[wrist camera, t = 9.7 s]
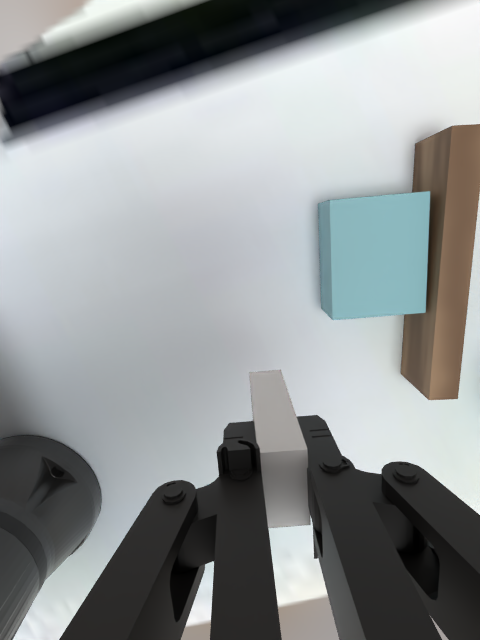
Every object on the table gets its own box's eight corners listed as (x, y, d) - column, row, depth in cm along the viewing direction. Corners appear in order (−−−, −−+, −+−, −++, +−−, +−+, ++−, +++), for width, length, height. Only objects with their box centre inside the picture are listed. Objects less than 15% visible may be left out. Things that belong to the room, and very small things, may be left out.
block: (321, 307, 37) (332, 320, 32) (317, 203, 35) (329, 200, 30) (401, 301, 37) (425, 312, 32) (403, 196, 34) (430, 191, 29)
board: (400, 373, 38) (428, 400, 32) (415, 143, 33) (452, 125, 27) (425, 372, 38) (457, 399, 32) (443, 142, 33) (486, 124, 27)
